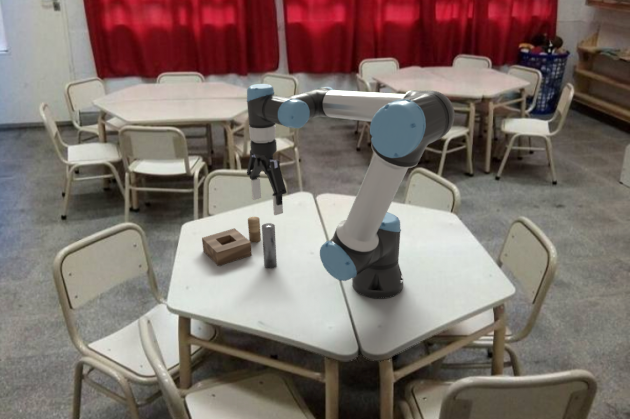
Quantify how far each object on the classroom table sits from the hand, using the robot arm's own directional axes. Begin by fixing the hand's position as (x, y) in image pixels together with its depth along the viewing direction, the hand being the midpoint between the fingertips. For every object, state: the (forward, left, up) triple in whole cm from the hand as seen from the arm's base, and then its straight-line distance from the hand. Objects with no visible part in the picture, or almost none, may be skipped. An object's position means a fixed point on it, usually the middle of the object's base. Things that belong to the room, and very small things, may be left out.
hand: (267, 206), depth 167 cm
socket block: (+15, +8, -21) cm, 27 cm away
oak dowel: (+18, -4, -21) cm, 27 cm away
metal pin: (0, 0, -21) cm, 21 cm away
